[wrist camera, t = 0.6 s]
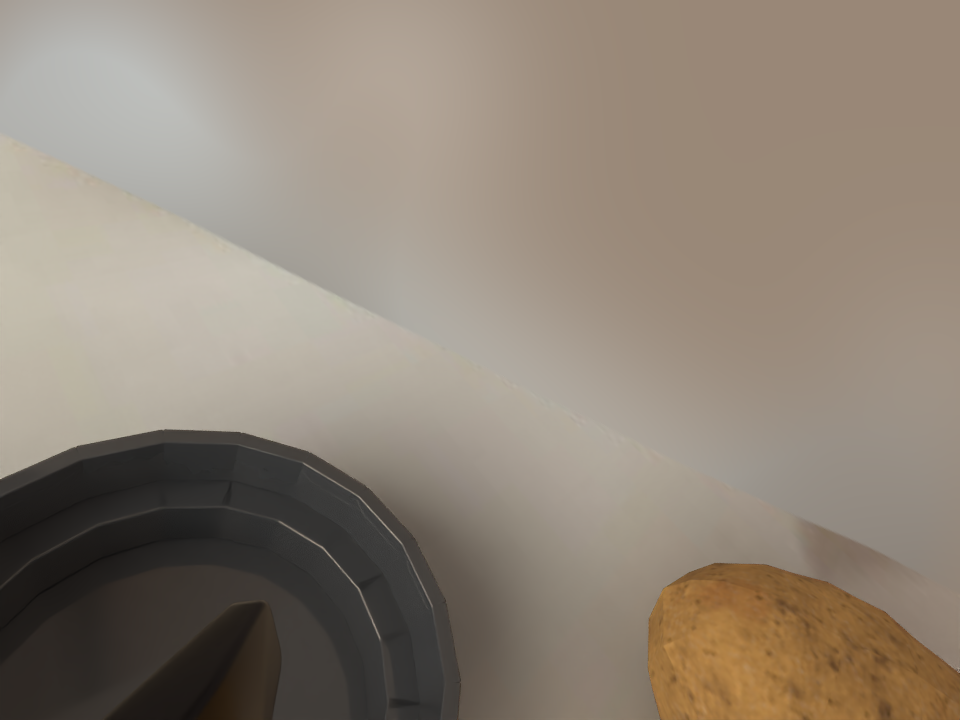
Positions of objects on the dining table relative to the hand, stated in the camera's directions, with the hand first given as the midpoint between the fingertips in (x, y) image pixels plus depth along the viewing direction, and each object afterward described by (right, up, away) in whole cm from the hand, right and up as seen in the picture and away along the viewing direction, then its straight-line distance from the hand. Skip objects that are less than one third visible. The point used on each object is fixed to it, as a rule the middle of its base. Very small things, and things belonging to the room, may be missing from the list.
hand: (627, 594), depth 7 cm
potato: (+8, -13, +16) cm, 22 cm away
